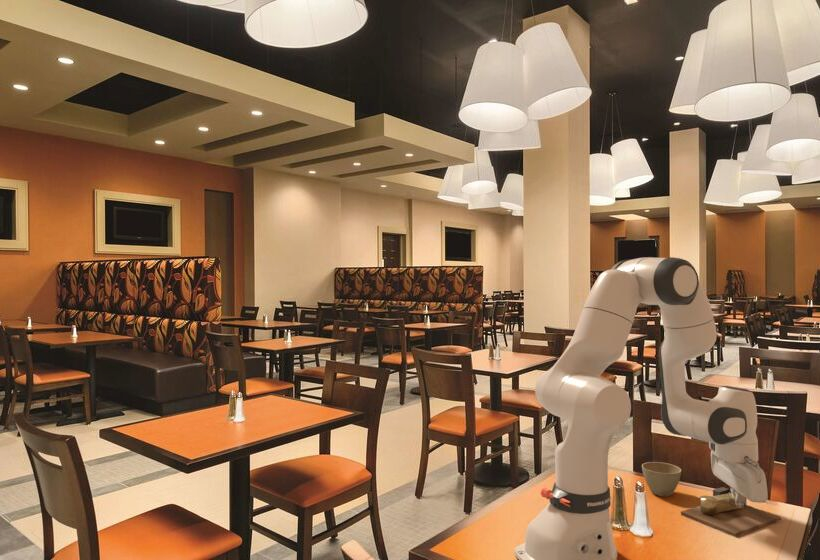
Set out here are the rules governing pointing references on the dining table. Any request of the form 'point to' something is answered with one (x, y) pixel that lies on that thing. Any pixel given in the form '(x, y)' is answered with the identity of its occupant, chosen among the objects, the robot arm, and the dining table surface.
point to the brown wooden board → (733, 519)
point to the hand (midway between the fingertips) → (738, 506)
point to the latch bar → (717, 503)
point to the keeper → (723, 492)
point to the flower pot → (661, 477)
